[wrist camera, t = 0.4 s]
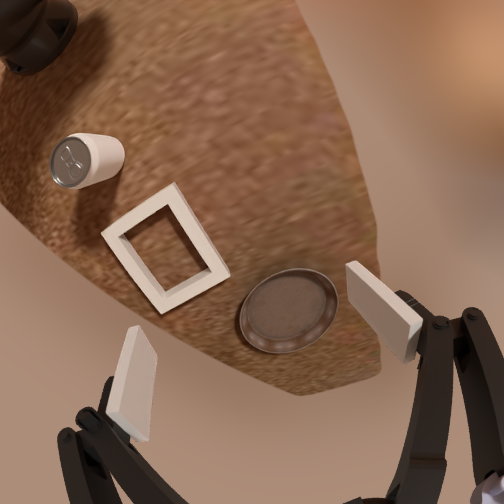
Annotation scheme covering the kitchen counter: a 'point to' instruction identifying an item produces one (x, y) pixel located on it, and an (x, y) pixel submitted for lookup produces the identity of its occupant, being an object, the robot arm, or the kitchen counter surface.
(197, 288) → the socket collar
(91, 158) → the can
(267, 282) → the plant saucer
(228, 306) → the kitchen counter surface
